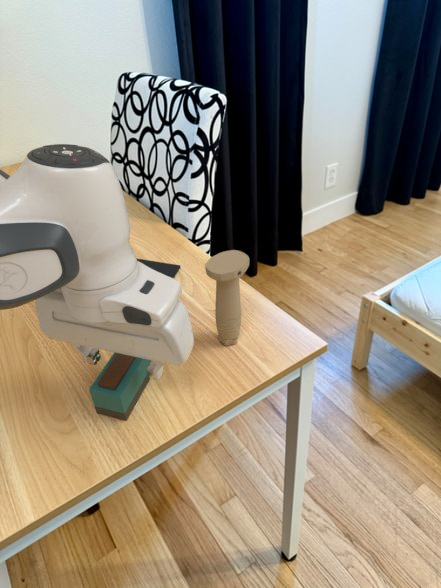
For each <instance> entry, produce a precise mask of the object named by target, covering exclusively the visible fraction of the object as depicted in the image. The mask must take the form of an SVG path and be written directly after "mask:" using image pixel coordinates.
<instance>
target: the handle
mask: <svg viewBox="0 0 441 588" xmlns="http://www.w3.org/2000/svg"><path fill="white" fill-rule="evenodd" d="M249 267H250V257H249V255H248V254H246V253H245V252H243V251H242V250H236V249H230V250H225V251H222V252H219V253H217V254H215V255H213V256H211V257H210V258H209V259H207V261H206V262H205V264H204V268H205V274H206V275H207V276H208V277H209V278H210V279H212V280H214V281H215V282H216V283H215V307H214V308H215V309H214V310H215V311H214V313H215V314H214V315H215V326H216V330H217V331H216V332H217V336H218V338H217V339H218V341H219V342H220V343H222V344H223V345H224V346H226V347H227V346H230V345H232V346H233V345H236V344H237V343H238V339H239V337H240V331H241V326H242V301H241V288H240V278H242V276H243V275H245V273H246V272H247V270H248V269H249Z"/></svg>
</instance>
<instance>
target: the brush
mask: <svg viewBox="0 0 441 588" xmlns="http://www.w3.org/2000/svg"><path fill="white" fill-rule="evenodd" d="M151 361H152V360H147V359H143V358H138V357H133V356H129V355H124V354H119V353H115V352H113V354H112V355H111V357H110V358H109V359H108V361H107V362H106V364H105V366H104V367H103V368H102V370H101V371H100V373H99V374H98V376H96V378H95V380H94V381H93V383H92V384H91V386H90V387H89V389H88V390H89V391H88V392H89V394H90V396H91V400H92V403H93V405H94V409H95V412H96V414H97V415H98V414H99V415H102V416H107V417H109V418H115V419H118V420H122V421H125V422H127V421H128V419H129V417H130V416H131V414H132V412H133V410H134V408H135V407H136V404H137V403H138V401H139V399H140V397H142V395H143V393H144V390H145V389H146V387H147V385H148V384H149V382H150V380H151V378H149V377H148V374H147V368H148V366H150V363H151Z"/></svg>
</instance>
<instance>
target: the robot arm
mask: <svg viewBox="0 0 441 588" xmlns="http://www.w3.org/2000/svg"><path fill="white" fill-rule="evenodd" d="M129 217H130V216H129V213H128V208H127V204H126V200H125V196H124V192H123V189H122V185H121V182H120V180H119V177H118V174H117V172H116V170H115V168H114V166H113V164H112V162H111V161H110V160H108V158H107V157H105V156H104V155H102V153H100V152H98V151H96V150H95V149H93V148H90V147H87V146H82V145H79V144H69V143H58V144H57V143H55V144H47V145H42V146H40V147H37V148H34V149H31V150H30V151H29V152H28V153H27V154H26V155H25V158H24V160H23V161H22V163H21V164H20V165H19V167H17V168H16V170H15V171H13V173H12V174H11V175H10V174H8V173H6V171H4V170H2V169H0V311H5V310H11V309H15V308H19V307H21V306H22V307H23V306H24V305H27V304H29V303H31V302H34V306H35V312H36V317H37V321H38V324H39V327H40V330H41V332H42V333H43V334H44V335H45V336H46V338H48V339H50V340H55V341H59V342H63V343H68V344H70V345H71V348H73V349H74V350H75V351H76V352H77V353H78V354H80V356H82V358H83V361H84V363H85V364H87V365H92V366H97V365H98V363H99V361H100V360H101V358H102V355H101V352H100V350H101V351H105V352H111V353H114V352H115V353H119V354H124V355H129V356H133V357H138V358H143V359H147V360H152V361H151V363H150V366H148V368H147V374H148V377H149V378H150V379H154V380H157V381H158V380H160V379H161V376H162V375H163V372H164V364H165V365H166V364H167V365H171V366H176V367H180V366H182V365H184V364H185V363H186V362H187V360H188V359H189V357H190V356H191V353H192V351H193V348H194V344H195V337H194V336H195V335H194V331H193V326H192V322H191V321H192V320H191V317H190V314H189V311H188V309H187V307H186V305H185V304H184V303H183V302H182V301H181V300H179V299H180V297H181V294H182V285H181V283H180V281H178V280H177V279H175V278H171V277H169V276H166V275H164V274H162V273H159V272H157V271H155V270H153V269H151V268H149V267H148V266H146V265H144V264H143V263H141V262H139V261H137V259H138V258H137V255H136V252H135V250H134V249H133V247H132V245H131V242H130V237H131V236H130V235H131V223H130V218H129Z"/></svg>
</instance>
